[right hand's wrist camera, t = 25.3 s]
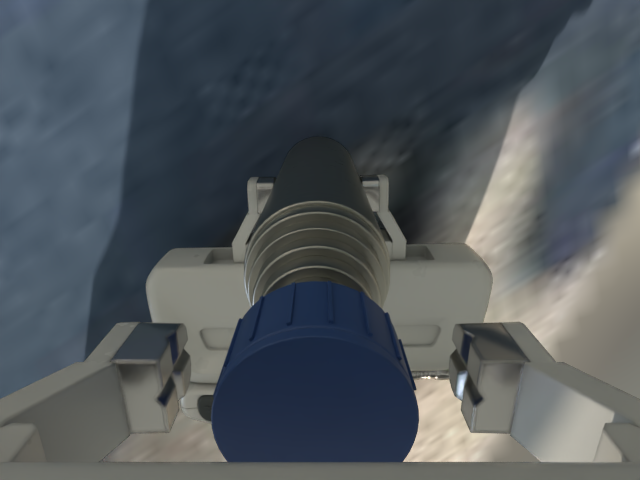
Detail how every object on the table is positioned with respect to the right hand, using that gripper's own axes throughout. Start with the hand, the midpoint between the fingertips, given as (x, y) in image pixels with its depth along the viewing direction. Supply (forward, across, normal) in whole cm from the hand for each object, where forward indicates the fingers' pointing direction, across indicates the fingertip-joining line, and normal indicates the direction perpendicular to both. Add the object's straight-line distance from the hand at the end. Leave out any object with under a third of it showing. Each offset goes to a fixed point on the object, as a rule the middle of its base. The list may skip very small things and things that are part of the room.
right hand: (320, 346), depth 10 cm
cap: (-2, 0, 0) cm, 2 cm away
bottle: (+21, 0, 0) cm, 21 cm away
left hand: (+15, 0, -1) cm, 15 cm away
